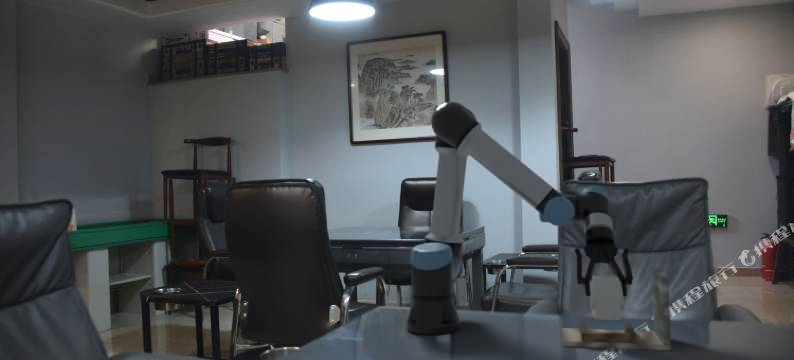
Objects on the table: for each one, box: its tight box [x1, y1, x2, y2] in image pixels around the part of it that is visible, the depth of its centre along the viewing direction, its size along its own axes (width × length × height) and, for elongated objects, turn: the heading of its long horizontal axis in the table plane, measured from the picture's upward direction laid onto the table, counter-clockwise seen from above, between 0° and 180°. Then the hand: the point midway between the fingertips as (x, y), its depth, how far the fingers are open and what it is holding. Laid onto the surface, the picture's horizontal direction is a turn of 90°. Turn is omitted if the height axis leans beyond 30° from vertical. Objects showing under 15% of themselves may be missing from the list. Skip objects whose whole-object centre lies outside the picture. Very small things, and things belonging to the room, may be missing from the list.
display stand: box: [561, 268, 672, 351], centre depth 143 cm, size 24×13×17 cm, turn 75°
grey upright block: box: [591, 274, 622, 321], centre depth 143 cm, size 6×6×10 cm
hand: (607, 306), depth 140 cm, fingers closed on grey upright block, 6 cm apart
